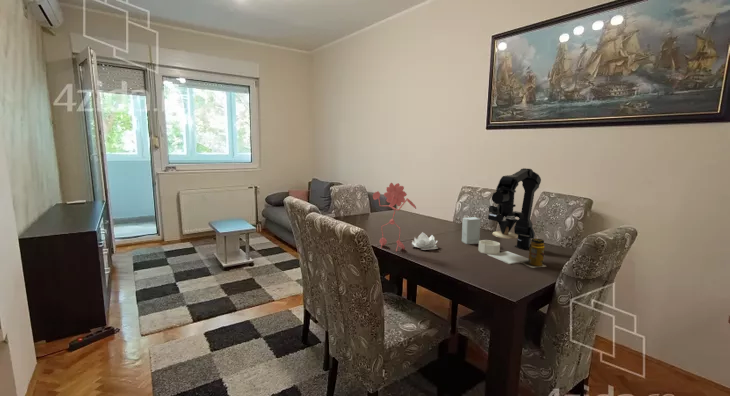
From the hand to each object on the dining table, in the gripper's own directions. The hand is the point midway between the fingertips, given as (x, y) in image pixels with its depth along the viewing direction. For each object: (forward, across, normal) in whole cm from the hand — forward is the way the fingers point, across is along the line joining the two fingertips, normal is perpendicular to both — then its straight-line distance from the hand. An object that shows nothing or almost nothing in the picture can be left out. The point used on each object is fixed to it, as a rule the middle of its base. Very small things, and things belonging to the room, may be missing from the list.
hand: (505, 233), depth 165 cm
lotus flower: (+12, +29, -27) cm, 41 cm away
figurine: (+12, +43, -34) cm, 56 cm away
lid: (+1, 0, 0) cm, 1 cm away
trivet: (+12, 0, +3) cm, 12 cm away
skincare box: (+12, -1, -24) cm, 27 cm away
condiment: (+12, -4, +14) cm, 19 cm away
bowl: (+12, +1, -8) cm, 15 cm away
